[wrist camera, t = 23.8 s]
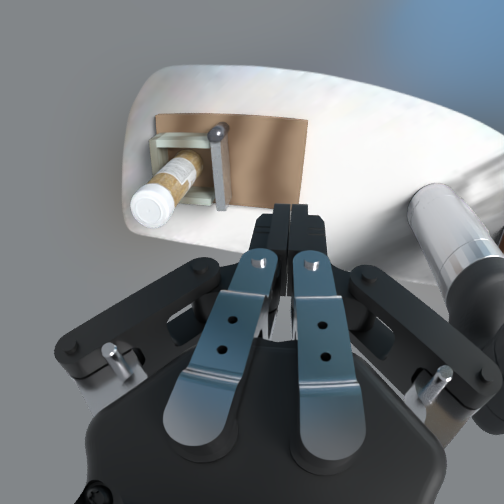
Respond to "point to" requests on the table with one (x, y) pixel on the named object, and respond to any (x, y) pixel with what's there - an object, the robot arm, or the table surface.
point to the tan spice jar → (166, 189)
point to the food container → (501, 243)
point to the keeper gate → (220, 164)
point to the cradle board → (237, 155)
